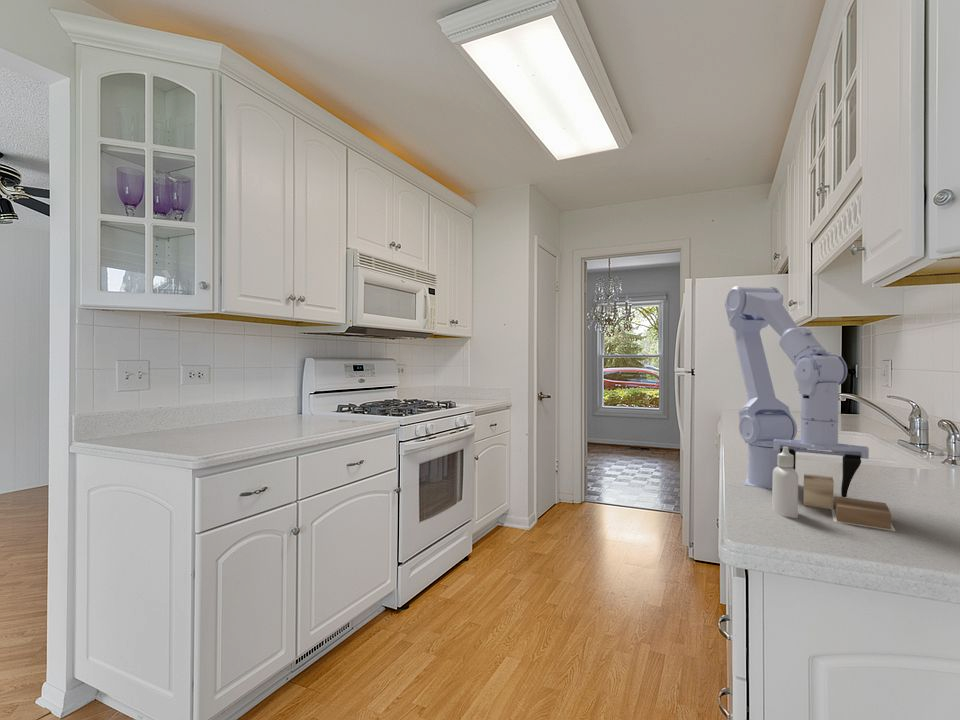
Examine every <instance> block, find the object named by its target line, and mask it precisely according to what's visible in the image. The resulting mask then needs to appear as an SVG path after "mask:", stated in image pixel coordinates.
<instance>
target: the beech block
mask: <svg viewBox="0 0 960 720" xmlns="http://www.w3.org/2000/svg"><path fill="white" fill-rule="evenodd" d="M834 483H835V481H834V477H833V476H827V475H821V474H820V475H817V474H810V473H804V474H803V506H808V507H813V508H820V509H821V508H822V509H829V510H832V509H834V485H835V484H834Z"/></svg>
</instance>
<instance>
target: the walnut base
mask: <svg viewBox="0 0 960 720" xmlns="http://www.w3.org/2000/svg"><path fill="white" fill-rule="evenodd" d="M834 505H835V506H834V507H835V508H834V510H835V513H836V518H837V521H840V522H847V523H853V524H860V525H866V526H873V527H879V528H886V529H891V523H892V513H891V511H890V508H889V507H888V505H887V503H886V502H880V501H872V500H865V499H857V498H851V497H842V496H837V495H835V501H834Z"/></svg>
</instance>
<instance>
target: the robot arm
mask: <svg viewBox="0 0 960 720" xmlns="http://www.w3.org/2000/svg"><path fill="white" fill-rule="evenodd" d="M726 296H727V297H726V299H725V303H724V307H725V312H726V315H727V320H728V325H729V326H730V327H731V328H732V333H733V338H734V339H733V340H734V343H735V347H736V348H735V349H736V352H737V356H738V357H737V358H738V360H739V361H738V362H739V365H740V371H741V373H742V374H741V375H742V378H743V383H744V387H745V392H746V396H747V402H746V404H744V405H743V406H742V407H741V408H740V409H739V411H738V416H739V417H738V418H739V421H738V431H739V434H740V436H741V438H742V439H743V441H744V443H745V444H748V445H747V446H748V447H747V477H746V479H745V481H744V482H743V485H744V486H747V487H753V488H754V487H755V488H761V489H771V490H772V486H773V470H774V468H776V467H778V465H777V460H778V454H780V453H782V451H783V447H788V450H789V453H790V454H791V455H793V456H794V467H792V468H793V469H794V470H795V471H796V462H797V461H796V455H797V452H799V453H808V454H818V455H829V456H830V455H831V456H839V457H840V456H841V457H842V479H841V487H840V495H841V497H844V498H848V491H849V487H850V485H851V481H852V480H853V478H854V476H855V474H856V472H857V471H858V469H859V467H860V465H862V459H867V460H869V459H870V458H869V455H870V454H869V451H870V450H869V447H868V446H865V445H855V444H847V443H839V402H840V401H839V399H840V398H839V395H840V393H839V392H840V390H839V389H840V387H839V386H840V385H842V384H843V383H844V382H845V381H846V379H847V376H848V365H847V363H846V361H845V359H844V357H843V356H841V355H839V354H836V353H835V354H833V353H832V352H830V351H827V350H826V349H825V347H824V346H822V345H821V343H820V342H819V341H818V339H816V337H815V336H814V335H813V331H812V330H811V329H810V328H807V327H802V326H799V327H798V326H797V324H796V322H795V321H794V319H793V318H792V316H791V315H790V313H789V312H788V310H787V309H786V307H785V305H784V295H783V293H781V292H780V290H779V289H778V288H777V287H776V286H768V287H765V286H763V287H762V286H761V287H758V286H740V285H736V286H732V288H731V289H730V290H729V291H728V293H727V295H726ZM768 325H769V326H770V328H772V329H773V331H775V332H776V333H777V334H778V336H779V338H780V339H779V343H778V344H779V346H780V348H781V350H782V351H783V352H784V353H785V354H786V356H787V358H788V359H789V360H790V361H791V363H792V364H793V366H794V367H795V368H794V369H793V375H794V379H795V381H796V383H797V388H798V389H797V390H798V393H799V394H800V395H801V398H800V399H801V400H800V401H801V404H800V405H801V414H800V418H801V419H800V439H795V438H796V437H797V433H798V424H797V422H796V420H795V418H794V417H793V416H792V414H791V411H790V408H789V405H787V404H785V403H784V402H783V401H781V400H779V399H778V398H777V397H776V393H775V389H774V385H773V382H772V381H773V380H772V377H771V374H770V373H771V372H770V369H769V366H768V365H769V364H768V362H767V357H766V353H765V349H764V345H763V340H762V336H761V330H762V329H764V328H767V327H768Z"/></svg>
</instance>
